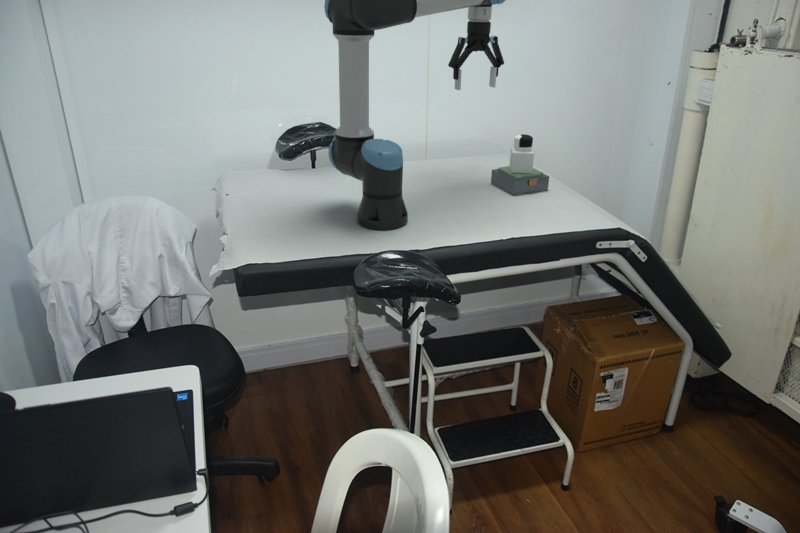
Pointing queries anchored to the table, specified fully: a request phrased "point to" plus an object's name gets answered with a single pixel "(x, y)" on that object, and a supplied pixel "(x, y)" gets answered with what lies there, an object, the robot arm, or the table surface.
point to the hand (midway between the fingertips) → (475, 88)
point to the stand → (519, 181)
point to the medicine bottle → (522, 154)
